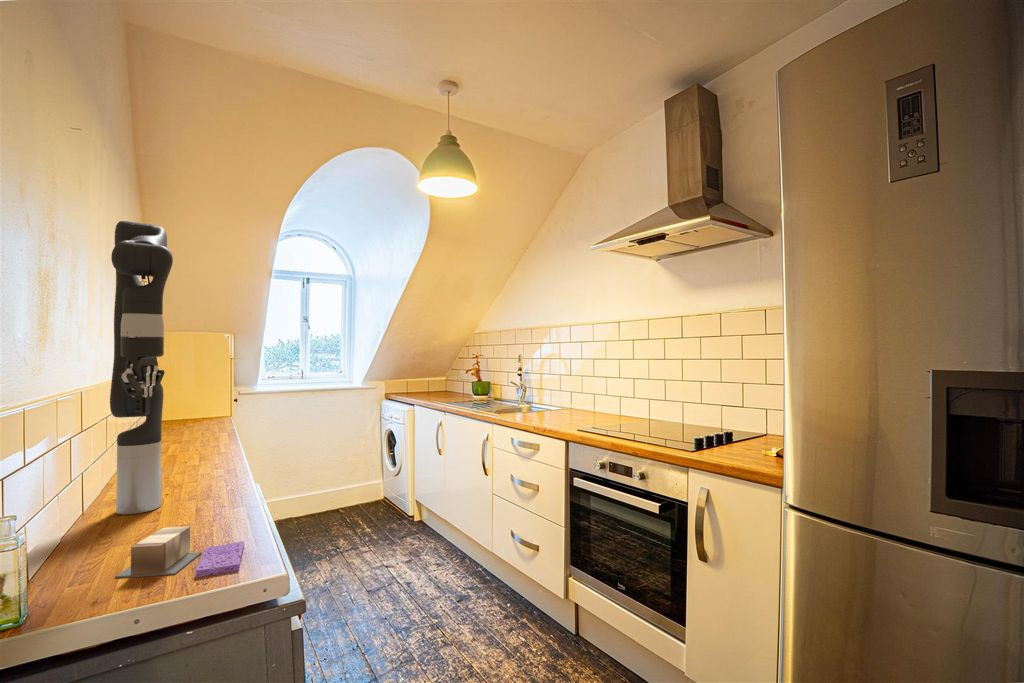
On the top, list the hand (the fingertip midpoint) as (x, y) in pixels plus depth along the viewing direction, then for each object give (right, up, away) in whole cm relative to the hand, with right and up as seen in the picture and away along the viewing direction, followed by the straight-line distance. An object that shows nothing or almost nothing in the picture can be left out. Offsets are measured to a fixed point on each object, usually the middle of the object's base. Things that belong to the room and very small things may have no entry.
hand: (142, 414), depth 107 cm
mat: (+14, -27, -14) cm, 33 cm away
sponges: (+25, -27, -12) cm, 39 cm away
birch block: (+13, -24, -8) cm, 29 cm away
